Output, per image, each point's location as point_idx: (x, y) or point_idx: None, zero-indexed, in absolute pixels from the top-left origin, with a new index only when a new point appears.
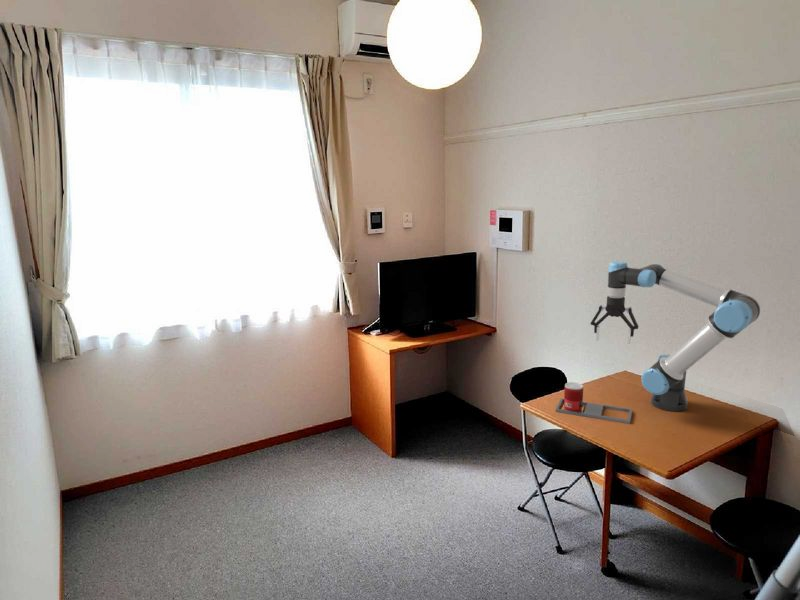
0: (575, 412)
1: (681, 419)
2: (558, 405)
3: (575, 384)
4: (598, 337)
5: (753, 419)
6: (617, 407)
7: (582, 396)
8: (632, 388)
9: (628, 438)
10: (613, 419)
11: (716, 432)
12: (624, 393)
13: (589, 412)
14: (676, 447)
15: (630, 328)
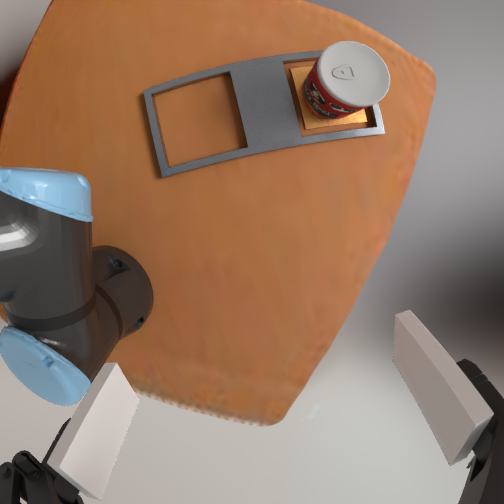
0: (305, 52)
1: None
2: None
3: (358, 93)
4: (403, 357)
5: None
6: (204, 161)
7: (310, 80)
8: (227, 347)
9: (132, 20)
10: (189, 76)
11: None
12: (233, 303)
13: (267, 71)
14: (47, 64)
15: (46, 480)
